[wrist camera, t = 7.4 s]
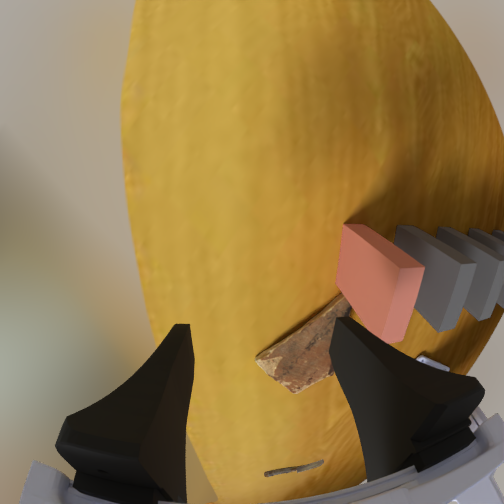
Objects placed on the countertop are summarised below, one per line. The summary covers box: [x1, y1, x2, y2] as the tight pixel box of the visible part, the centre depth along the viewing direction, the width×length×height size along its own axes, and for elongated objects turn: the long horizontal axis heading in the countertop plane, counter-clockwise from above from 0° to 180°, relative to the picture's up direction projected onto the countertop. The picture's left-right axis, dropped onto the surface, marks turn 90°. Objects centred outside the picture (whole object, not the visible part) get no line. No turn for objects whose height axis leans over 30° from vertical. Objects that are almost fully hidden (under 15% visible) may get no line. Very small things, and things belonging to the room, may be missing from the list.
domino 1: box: [394, 225, 477, 333], centre depth 18 cm, size 2×5×8 cm, turn 179°
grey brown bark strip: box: [264, 460, 324, 477], centre depth 35 cm, size 12×1×5 cm
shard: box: [255, 293, 352, 394], centre depth 24 cm, size 11×8×2 cm
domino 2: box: [436, 227, 504, 321], centre depth 18 cm, size 2×5×8 cm, turn 179°
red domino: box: [335, 224, 425, 344], centre depth 17 cm, size 2×5×8 cm, turn 179°
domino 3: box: [468, 228, 504, 308], centre depth 19 cm, size 2×5×8 cm, turn 179°
